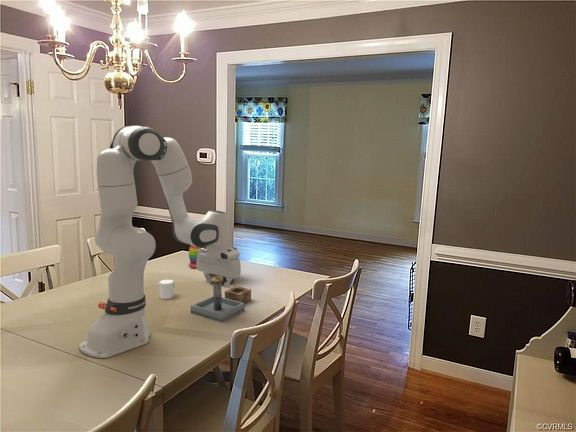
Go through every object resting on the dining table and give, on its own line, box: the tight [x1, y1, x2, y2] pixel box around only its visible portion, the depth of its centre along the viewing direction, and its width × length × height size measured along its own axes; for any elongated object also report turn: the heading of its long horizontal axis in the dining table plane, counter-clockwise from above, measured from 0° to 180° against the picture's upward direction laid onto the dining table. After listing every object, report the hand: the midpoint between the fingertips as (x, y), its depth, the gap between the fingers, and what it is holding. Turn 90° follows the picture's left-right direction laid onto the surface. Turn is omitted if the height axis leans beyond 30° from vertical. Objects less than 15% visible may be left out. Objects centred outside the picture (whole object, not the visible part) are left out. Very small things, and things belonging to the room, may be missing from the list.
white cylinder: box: [157, 278, 175, 300], centre depth 178 cm, size 7×7×7 cm
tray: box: [190, 295, 246, 323], centre depth 164 cm, size 14×16×3 cm
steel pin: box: [211, 276, 223, 311], centre depth 163 cm, size 5×5×13 cm
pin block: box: [224, 285, 252, 304], centre depth 175 cm, size 8×8×5 cm
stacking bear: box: [188, 245, 206, 270], centre depth 225 cm, size 11×10×18 cm
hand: (217, 284), depth 162 cm, fingers open, 8 cm apart
